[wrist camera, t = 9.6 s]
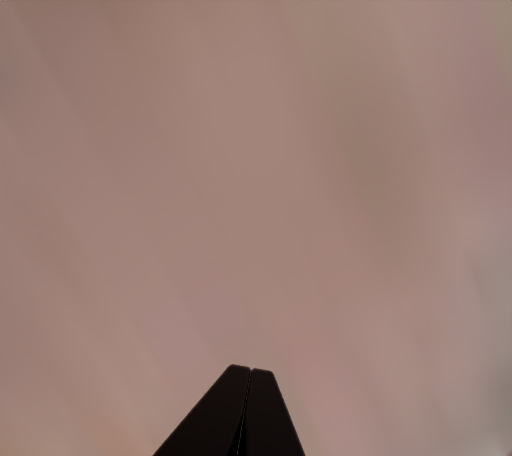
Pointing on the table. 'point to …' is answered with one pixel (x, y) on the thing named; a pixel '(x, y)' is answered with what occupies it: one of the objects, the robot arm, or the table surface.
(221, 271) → the table surface
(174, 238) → the table surface
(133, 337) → the table surface
